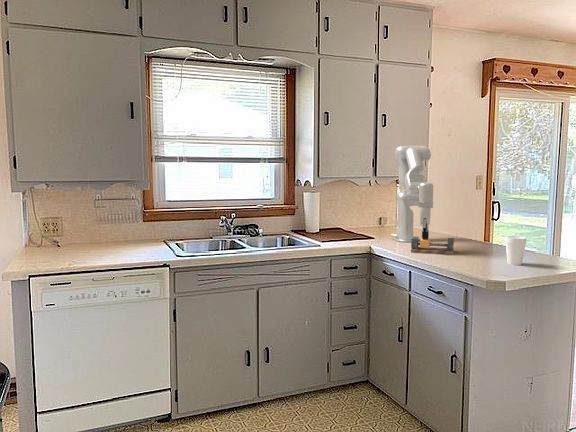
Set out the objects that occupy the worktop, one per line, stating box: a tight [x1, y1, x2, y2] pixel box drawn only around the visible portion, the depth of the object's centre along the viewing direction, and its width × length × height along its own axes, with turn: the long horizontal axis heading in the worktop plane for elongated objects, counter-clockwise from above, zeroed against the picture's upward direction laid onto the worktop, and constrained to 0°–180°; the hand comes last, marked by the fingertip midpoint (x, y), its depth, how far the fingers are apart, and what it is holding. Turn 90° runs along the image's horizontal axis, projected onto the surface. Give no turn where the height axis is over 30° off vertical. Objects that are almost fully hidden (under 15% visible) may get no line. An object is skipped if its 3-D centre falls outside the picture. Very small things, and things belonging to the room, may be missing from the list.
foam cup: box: [504, 235, 527, 266], centre depth 231 cm, size 10×9×13 cm
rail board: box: [410, 236, 455, 256], centre depth 265 cm, size 22×12×8 cm, turn 69°
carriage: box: [419, 237, 431, 248], centre depth 266 cm, size 5×7×10 cm
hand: (425, 237), depth 266 cm, fingers closed on carriage, 2 cm apart
